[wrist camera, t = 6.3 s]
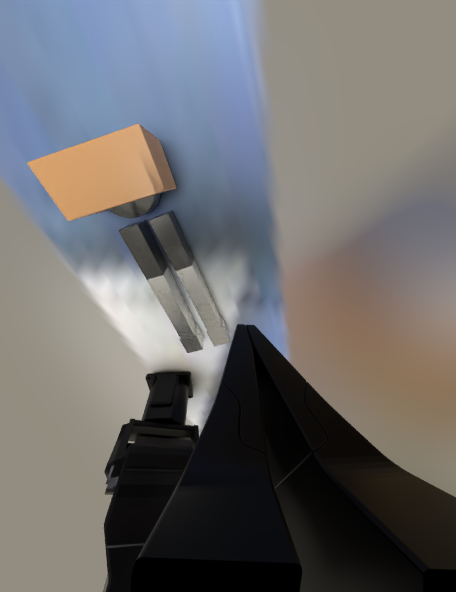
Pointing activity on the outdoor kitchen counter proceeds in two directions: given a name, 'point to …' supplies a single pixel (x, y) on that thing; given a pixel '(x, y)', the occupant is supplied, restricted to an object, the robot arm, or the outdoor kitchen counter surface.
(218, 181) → the outdoor kitchen counter surface
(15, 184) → the outdoor kitchen counter surface
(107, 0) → the outdoor kitchen counter surface
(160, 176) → the orange u-shaped block
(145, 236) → the arm
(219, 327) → the tongs free arm
